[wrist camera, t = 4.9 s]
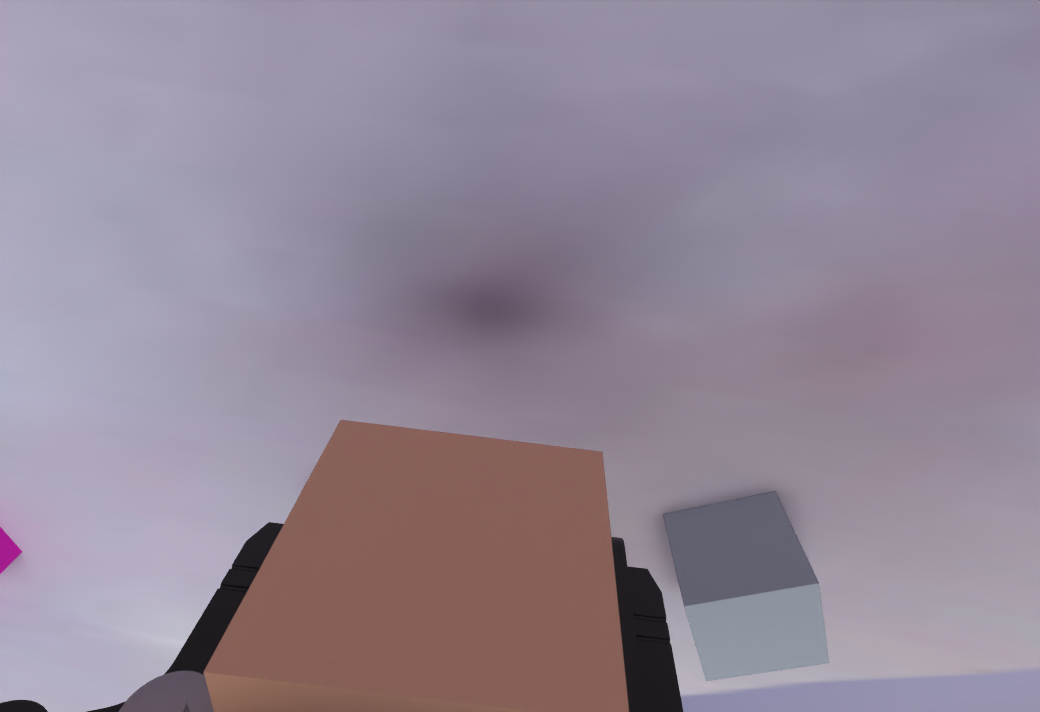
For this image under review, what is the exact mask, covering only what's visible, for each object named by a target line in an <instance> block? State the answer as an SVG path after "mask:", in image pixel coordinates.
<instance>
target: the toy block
mask: <svg viewBox="0 0 1040 712" xmlns="http://www.w3.org/2000/svg"><path fill="white" fill-rule="evenodd" d="M21 552H22V551H21V550H20V549H19V548H18V546H17V545H16V544H15V543H14V542H13V541H12V540H11V539H10V537H9V536H8V535H7V534H6V533H5V532H4V531H3V530H2V528H1V527H0V574H1V573H2V572H3V571H4V570H5V569H6V568H7V567H8V566H9V565H10V564H11V563H12V562H13V561H14V560H15V559H16V558H17V557H18V556H19V555H20V553H21Z"/></svg>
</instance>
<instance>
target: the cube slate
mask: <svg viewBox="0 0 1040 712" xmlns="http://www.w3.org/2000/svg"><path fill="white" fill-rule="evenodd" d="M663 517H664V521H665V525H666V530H667V534H668V538H669V543H670V547H671V551H672V556H673V560H674V564H675V569H676V573H677V577H678V582H679V586H680V591H681V595H682V599H683V604H684V608H685V611H686V614H687V618H688V621H689V625H690V628H691V631H692V635H693V638H694V642H695V645H696V648H697V652H698V655H699V658H700V662H701V665H702V669H703V672H704V675H705V679H706V681H711V680H718V679H724V678H731V677H738V676H745V675H752V674H758V673H765V672H772V671H779V670H785V669H792V668H799V667H806V666H813V665H819V664H826V663H829V658H828V650H827V642H826V634H825V626H824V618H823V610H822V602H821V594H820V587H819V582H818V580H817V578H816V576H815V574H814V572H813V569H812V567H811V565H810V563H809V561H808V559H807V557H806V555H805V553H804V551H803V549H802V546H801V544H800V542H799V540H798V538H797V536H796V534H795V532H794V530H793V528H792V525H791V523H790V521H789V519H788V517H787V515H786V513H785V511H784V509H783V507H782V505H781V502H780V500H779V498H778V496H777V494H776V492H775V491H774V492H769V493H764V494H759V495H754V496H749V497H744V498H740V499H735V500H730V501H725V502H720V503H715V504H710V505H705V506H700V507H696V508H691V509H686V510H681V511H676V512H671V513H666V514H663Z"/></svg>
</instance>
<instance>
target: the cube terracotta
mask: <svg viewBox="0 0 1040 712" xmlns="http://www.w3.org/2000/svg"><path fill="white" fill-rule="evenodd" d="M204 676H205V680H206V683H207V687H208V691H209V695H210V699H211V703H212V706H213V710H214V712H629V706H628V696H627V686H626V677H625V667H624V657H623V647H622V638H621V628H620V618H619V609H618V599H617V589H616V579H615V570H614V560H613V550H612V540H611V531H610V521H609V511H608V501H607V492H606V482H605V472H604V463H603V453H602V452H599V451H591V450H583V449H575V448H567V447H559V446H550V445H542V444H534V443H526V442H518V441H510V440H501V439H493V438H485V437H477V436H469V435H461V434H452V433H444V432H436V431H428V430H420V429H412V428H403V427H395V426H387V425H379V424H371V423H363V422H354V421H346V420H340V422H339V424H338V426H337V428H336V429H335V431H334V433H333V435H332V437H331V439H330V441H329V442H328V444H327V446H326V448H325V450H324V452H323V453H322V455H321V457H320V459H319V461H318V463H317V464H316V466H315V468H314V470H313V472H312V474H311V475H310V477H309V479H308V481H307V483H306V485H305V486H304V488H303V490H302V492H301V494H300V496H299V497H298V499H297V501H296V503H295V505H294V507H293V508H292V510H291V512H290V514H289V516H288V518H287V520H286V521H285V523H284V525H283V527H282V529H281V531H280V532H279V534H278V536H277V538H276V540H275V542H274V543H273V545H272V547H271V549H270V551H269V553H268V554H267V556H266V558H265V560H264V562H263V564H262V565H261V567H260V569H259V571H258V573H257V575H256V576H255V578H254V580H253V582H252V584H251V586H250V587H249V589H248V591H247V593H246V595H245V597H244V599H243V600H242V602H241V604H240V606H239V608H238V610H237V611H236V613H235V615H234V617H233V619H232V621H231V622H230V624H229V626H228V628H227V630H226V632H225V633H224V635H223V637H222V639H221V641H220V643H219V644H218V646H217V648H216V650H215V652H214V654H213V655H212V657H211V659H210V661H209V663H208V665H207V666H206V668H205V670H204Z"/></svg>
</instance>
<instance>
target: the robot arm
mask: <svg viewBox="0 0 1040 712" xmlns="http://www.w3.org/2000/svg"><path fill="white" fill-rule="evenodd" d="M283 525H284V524H279V523H271V522H269V523H267V524H266V525H265V526H264V527H263V528H261V529H260V530H259V531H258V532H257V533H256V534H254V535H253V536H252V537H251V538H250V539H248V540H247V541H246V543H245V544H244V546H243V548H242V549H241V551H240V553H239V554H238V556H237V558H236V559H235V561H234V563H233V564H232V569H229V571H228V573H227V574H226V576H225V578H224V579H223V581H222V583H221V587H220V589H217V591H216V593H215V594H214V596H213V598H212V599H211V601H210V603H209V604H208V606H207V608H206V609H205V611H204V613H203V614H202V616H201V618H200V619H199V621H198V623H197V624H196V626H195V628H194V629H193V631H192V633H191V634H190V636H189V638H188V639H187V641H186V643H185V644H184V646H183V648H182V649H181V651H180V653H179V654H178V656H177V658H176V659H175V661H174V663H173V664H172V665H171V667H170V668H169V670H168V671H167V672H166V673H165V674H164V675H162V676H159V677H157V678H155V679H153V680H151V681H149V682H148V683H146V684H145V685H143V686H142V687H140V688H139V689H138V690H137V691H136V692H134V693H133V694H132V695H131V696H130V697H129V698H128V700H127V701H126V702H123V703H120V704H118V705H115V706H111V707H107V708H103V709H98V710H93V711H88V712H214V710H213V706H212V703H211V699H210V695H209V691H208V687H207V683H206V680H205V676H204V670H205V668H206V666H207V665H208V663H209V661H210V659H211V657H212V655H213V654H214V652H215V650H216V648H217V646H218V644H219V643H220V641H221V639H222V637H223V635H224V633H225V632H226V630H227V628H228V626H229V624H230V622H231V621H232V619H233V617H234V615H235V613H236V611H237V610H238V608H239V606H240V604H241V602H242V600H243V599H244V597H245V595H246V593H247V591H248V589H249V587H250V586H251V584H252V582H253V580H254V578H255V576H256V575H257V573H258V571H259V569H260V567H261V565H262V564H263V562H264V560H265V558H266V556H267V554H268V553H269V551H270V549H271V547H272V545H273V543H274V542H275V540H276V538H277V536H278V534H279V532H280V531H281V529H282V527H283ZM611 540H612V550H613V560H614V570H615V579H616V589H617V599H618V609H619V618H620V628H621V638H622V647H623V657H624V667H625V677H626V686H627V696H628V706H629V712H683V708H682V702H681V697H680V691H679V686H678V680H677V675H676V669H675V663H674V658H673V652H672V647H671V644H670V636H669V630H668V625H667V623H666V614H665V608H664V602H663V597H662V592H661V590H660V589H659V587H658V586H657V584H656V582H655V581H654V579H653V578H652V576H651V574H650V573H649V571H648V569H643V568H635V567H627V561H626V553H625V546H624V541H623V539H622V538H615V537H611ZM0 712H48V711H47V710H46V709H45V708H44V707H43V706H42V705H40V704H39V703H36V702H33V701H29V700H13V701H8V702H3V703H0Z"/></svg>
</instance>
